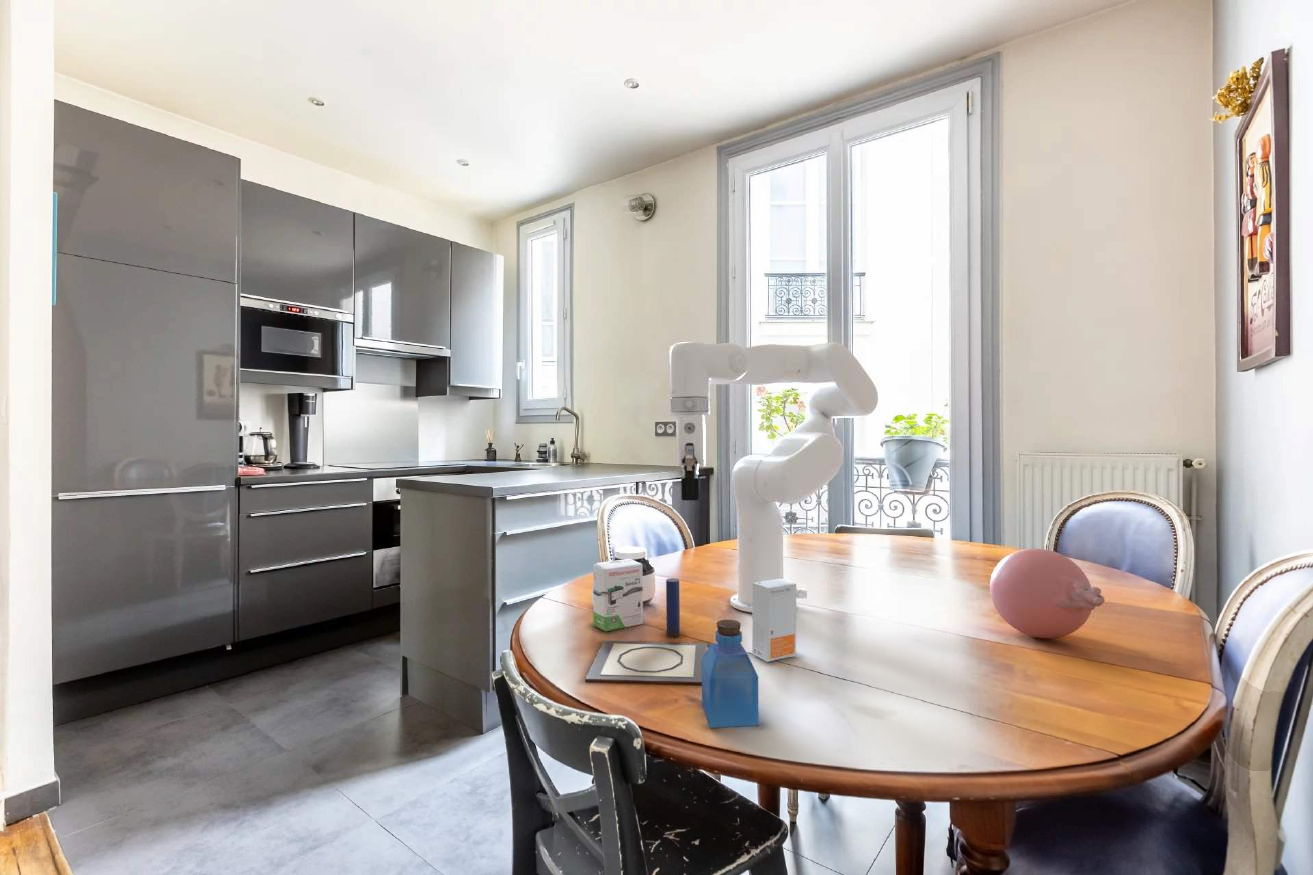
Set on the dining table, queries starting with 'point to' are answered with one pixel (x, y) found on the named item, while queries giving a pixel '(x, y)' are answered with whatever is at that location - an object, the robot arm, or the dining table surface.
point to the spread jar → (647, 569)
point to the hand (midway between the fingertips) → (691, 496)
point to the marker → (673, 607)
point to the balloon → (1042, 593)
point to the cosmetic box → (774, 619)
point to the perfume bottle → (729, 680)
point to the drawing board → (648, 662)
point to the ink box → (617, 594)
